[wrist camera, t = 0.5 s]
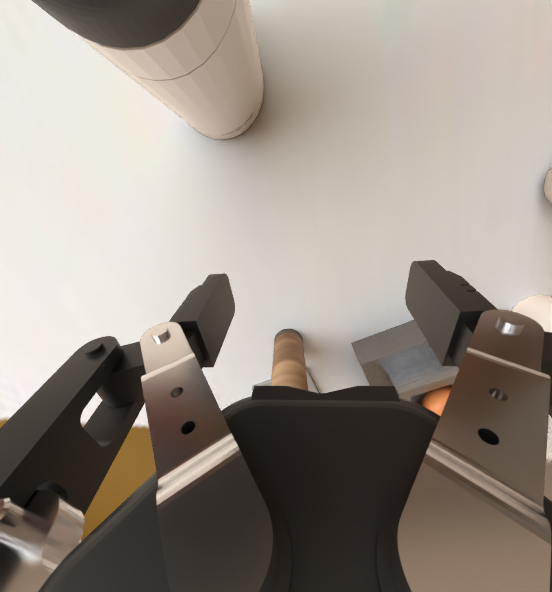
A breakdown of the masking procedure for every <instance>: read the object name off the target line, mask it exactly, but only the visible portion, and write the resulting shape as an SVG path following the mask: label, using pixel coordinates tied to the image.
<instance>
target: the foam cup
mask: <svg viewBox="0 0 552 592" xmlns="http://www.w3.org/2000/svg"><path fill="white" fill-rule="evenodd" d="M511 311H512V312H516V313H520V314H522V315H525V316H527V317H529V318H531V319H533V320H535V321H536V322H538V323H539V324H540V325H541V326H542V327H543V329H544V331H545V332H552V297H550V296H544V295H536V296H532V297H529V298H525V299H524V300H522V301H521V302H520V303H518V304H517V305H515V306H514V308H513V309H512V310H511Z"/></svg>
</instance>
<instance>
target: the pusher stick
mask: <svg viewBox="0 0 552 592" xmlns="http://www.w3.org/2000/svg"><path fill="white" fill-rule="evenodd" d="M271 386H290V387H294V388H298V389H303V390H307V391H308V383H307V375H306V366H305V358H304V349H303V341H302V337H301V335H300V334H299V333H298V332H297V331H295V330H293V329H284V330H282V331H280V332H279V333H278V334H277V335H276V337H275V342H274V354H273V367H272V379H271Z"/></svg>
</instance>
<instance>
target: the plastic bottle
mask: <svg viewBox="0 0 552 592" xmlns="http://www.w3.org/2000/svg"><path fill="white" fill-rule="evenodd" d="M544 193H545V195H546V197H547V199H548V200H549V202H550V203H551V204H552V167H551V169H550V170H549V172H548V174H547V176H546V179H545V183H544Z"/></svg>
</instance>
